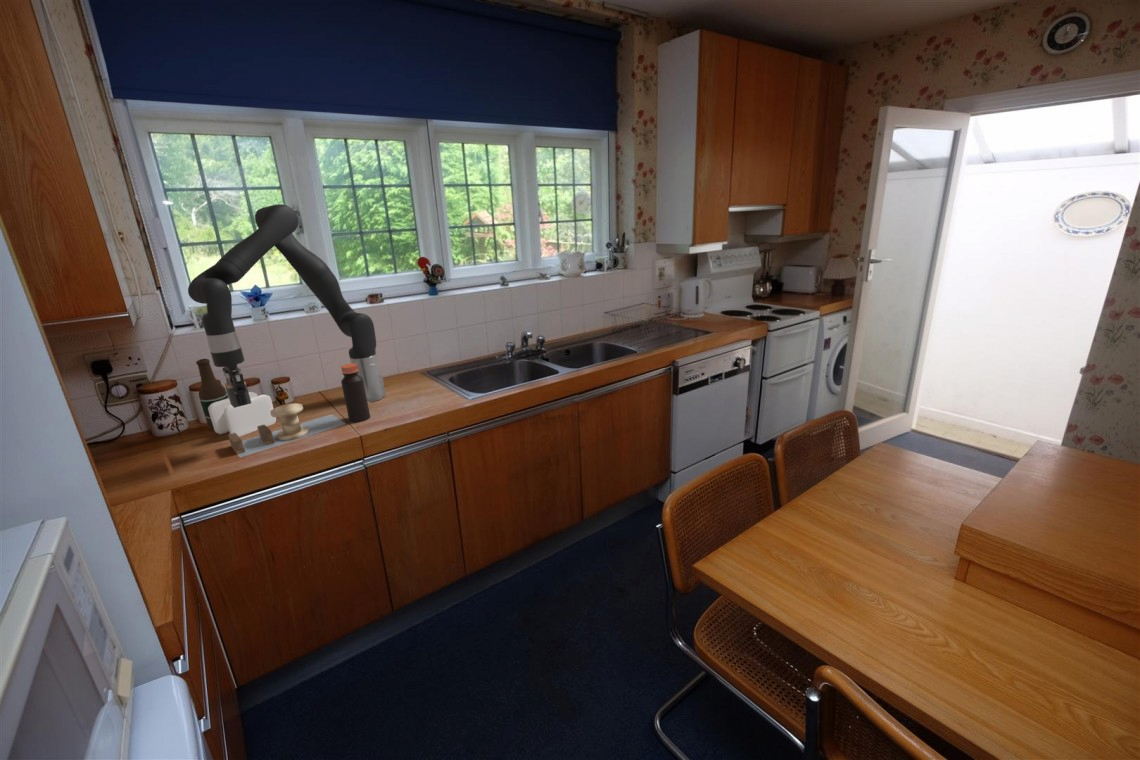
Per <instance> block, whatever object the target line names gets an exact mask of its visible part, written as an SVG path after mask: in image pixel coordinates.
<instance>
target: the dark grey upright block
mask: <svg viewBox="0 0 1140 760" xmlns="http://www.w3.org/2000/svg"><path fill="white" fill-rule="evenodd" d="M233 384H234V383H233ZM244 384H245V388H246V392H245V396H246V399H247V404H251V400H250V396H249V393H248V392H249V390H248V389H249V388H248V386H247V383H246V381H244ZM224 387H225V390H226V392H227V395H228V398H229V400H230V403H231V405H232V406H233V407H234V408H236V407H239V404H238V401H237V398H236V394H235V393H234V389H233V387H231V386H230V384H229V383H227V382H226V383H224ZM237 389H241V386H238V387H237ZM247 404H246V405H247Z"/></svg>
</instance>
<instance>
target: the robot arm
mask: <svg viewBox="0 0 1140 760" xmlns="http://www.w3.org/2000/svg"><path fill="white" fill-rule="evenodd" d="M254 222H255V224H256V227H257V229H256V230H255V231H254V232H253V233H251V234H250V235H248V236H247V237H246V238H244V239H243V240H241V241H239V242H238V243H236V244H235V245H233V247H231V248H230V249H229V250H228V251H227V252H226V253H225V254H223V255H222V257H221V258H220V259H218V260H217V261H216V263H215V264H214V265H212V266H210V267H209V268H207V269H206V270H204V271H203V272H200V273H199V274H198V275H197V276H195V278H193V279H192V280H191V282H190V283H189V285H188V288H187V294H188V296H189V297H190V299H191V300H193V301H194V302H195V303H197V304H198V303H199V304H203V305H205V304H206V312H207V313H205V314H203V315H202V316H201V317H202V318H201V320H202V324H203V328H204V332H205V334H206V339H207V345H208V348H209V352H210V356H211V359H212V362H213V365H214V367H216V368H217V367H219V368H222V374H223V376H224V377H225V381H226V383H229V384H230V386H231V387H233V389H234V393H235V394H236V398H237V401H238V404H239V406H243V405H246V404H247V399H246V396H245V392H246V388H245V384H244V382H245V381H244V380H245V379H244V375H243V372H242V369H241V368H239V366H238V365H239V364H242V363H244V362H245V356H244V354H243V349H242V346H241V342H240V339H239V336H238V334H237V331H236V328H235V327H236V326H235V324H234V321H233V318H232V317H233V316H232V313H233V308H232V307H233V304H232V302H233V299H232V293H231V290H230V288H229V285H232V284H236V283H238V282H239V281H241V279H243V278H244V277H245V275H246V274H248V273H249V271H250V270H251V269H252V268H253V267H254V266H255V265H256V264H257V263H258V262H259V261H260V260H261V259H262V258H263V257H264V256H265V255H266V254H267V253H268V252H270V250H271V249H273V248H276V249H277V250H278V252H280V253H281V254H282V255H283V257H284V258H285V259H286V260H287V262H288V263H289V264H290V266H291V267H292V268H293V269H294V271H295V272H296V273H297V274H298V276H299V277H300V278H301V280H302V281H303V283H305V285H306V286H307V287H308V288H309V290H310V291H311V292H312V293H313V294H314V296H315V297H316V298H317V299H318V301H319V302H320V303H321V304H322V306H324V308H325V309H326V310H327V312H328V313H329V315H330V316H331V317H332V319H333V320H334V322H335V324H336V325H337V327H338V329H339V330H340V331H341V333H342V334H344V335H345V336H347V337H350V338H351V342H352V347H350V348H349V350H348V356H349V361H350V364H351V363H354V364H357V367H358V375H359V376H361V377H362V378H363V382H364V387H365V392H366V397H367V402H369V403H373V402H376V401H377V402H378V401H379V400H382V399H383V398H386V397H387V396H386V390H385V386H384V385H385V384H384V379H383V373H381V372H380V369H379V368H380V367H379V362H378V358H377V352H376V349H377V338H376V330H375V326H374V325H375V324H374V321H373V319H372V318H371V316H369V315H368V314H365V313H361V312H357V311H355V310H354V309H353V308H352V307H351V306H350V304H348V302H347V301H346V300H345V298H344V296H343V294H342V290H341V287H340V283H339V281H338V279H337V277H336V275H335V274H334V273H333V271H332V270H331V268H330V267H329V266H328V264H327V263H326V262H325V261H324V260H323V259H322V258H320V257H319V256H317V254H315V253H313V252H312V251H310V249H308V248H306V247H305V246H304V245H303V244H302V243H301V242H299V240H298V239H297V238H296V237H295V236H294V234H293V233H294V232H295V231H296V230H297V229H298V227H299V224H300V223H299V222H300V221H299V216H298V214H297V212H296V211H295V210H294V209H293V207H290V206H289V205H287V204H283V203H282V204H272V205H268V206H265V207H261V208H259V209H257V210H256V212H255V215H254ZM233 383H234V384H233ZM238 386H241V389H237V387H238Z"/></svg>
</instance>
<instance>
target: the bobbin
mask: <svg viewBox="0 0 1140 760" xmlns="http://www.w3.org/2000/svg"><path fill="white" fill-rule="evenodd" d="M273 408H274V409H273V410H271V412H270V413H271V416H272V417H276V418H279V422H280V426H281V429H283V430H282V431H280V432H279V433H278V434H277V439H278V440H280V441H290V440H294V441H296V440H295V439H297V440H299V439H298V438H301V437H303V436H305V435H307V434H308V432H309V430H308V427H306V426H300V424H301V423H300V420H299V417H298V414H299V413H301V412H302V411H303V410H304V407H303V404H301V403H288V404H282V405H280V406H277V407H273ZM301 439H302V438H301Z"/></svg>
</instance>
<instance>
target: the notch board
mask: <svg viewBox="0 0 1140 760" xmlns="http://www.w3.org/2000/svg"><path fill="white" fill-rule="evenodd" d="M257 427H258V430H257V431H258V433H259V435H258V436H260V438H261V439H262V440H263V441H264V442H265V443H266V444H267V445H269V444H273V443H274V439H273V436H272V432H273V431H272V430H271V429H270V428H269V427H268V426H267V427H266V426H265V425H260V426H257ZM227 436H228V440H229V443H230V444H229V445H230V447H231V448H232V450H233V451H234V452H235V453H236V455H237V454H241V453H244V452H245V450H244V446H243V443H242V441H243V439H241V437H239V436H238V435H237V434H236V433H232V434H230V433H229V434H227Z"/></svg>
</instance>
